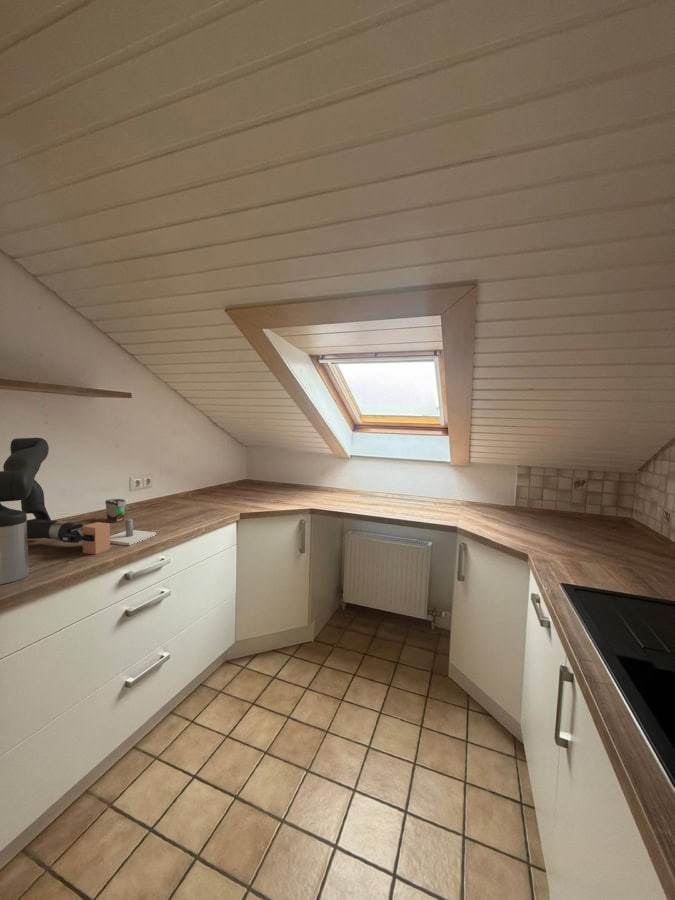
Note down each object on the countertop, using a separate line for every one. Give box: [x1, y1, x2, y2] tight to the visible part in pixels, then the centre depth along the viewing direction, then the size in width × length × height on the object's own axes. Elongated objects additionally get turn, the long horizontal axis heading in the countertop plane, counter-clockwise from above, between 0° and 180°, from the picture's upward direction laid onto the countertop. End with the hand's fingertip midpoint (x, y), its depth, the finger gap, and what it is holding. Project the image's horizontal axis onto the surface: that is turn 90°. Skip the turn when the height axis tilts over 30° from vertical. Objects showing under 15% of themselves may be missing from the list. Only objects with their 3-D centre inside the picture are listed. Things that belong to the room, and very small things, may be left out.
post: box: [110, 518, 157, 546], centre depth 144 cm, size 14×14×8 cm
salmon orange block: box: [82, 521, 111, 555], centre depth 129 cm, size 6×6×10 cm
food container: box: [104, 498, 127, 523], centre depth 171 cm, size 12×6×10 cm, turn 59°
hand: (101, 535), depth 129 cm, fingers closed on salmon orange block, 6 cm apart
